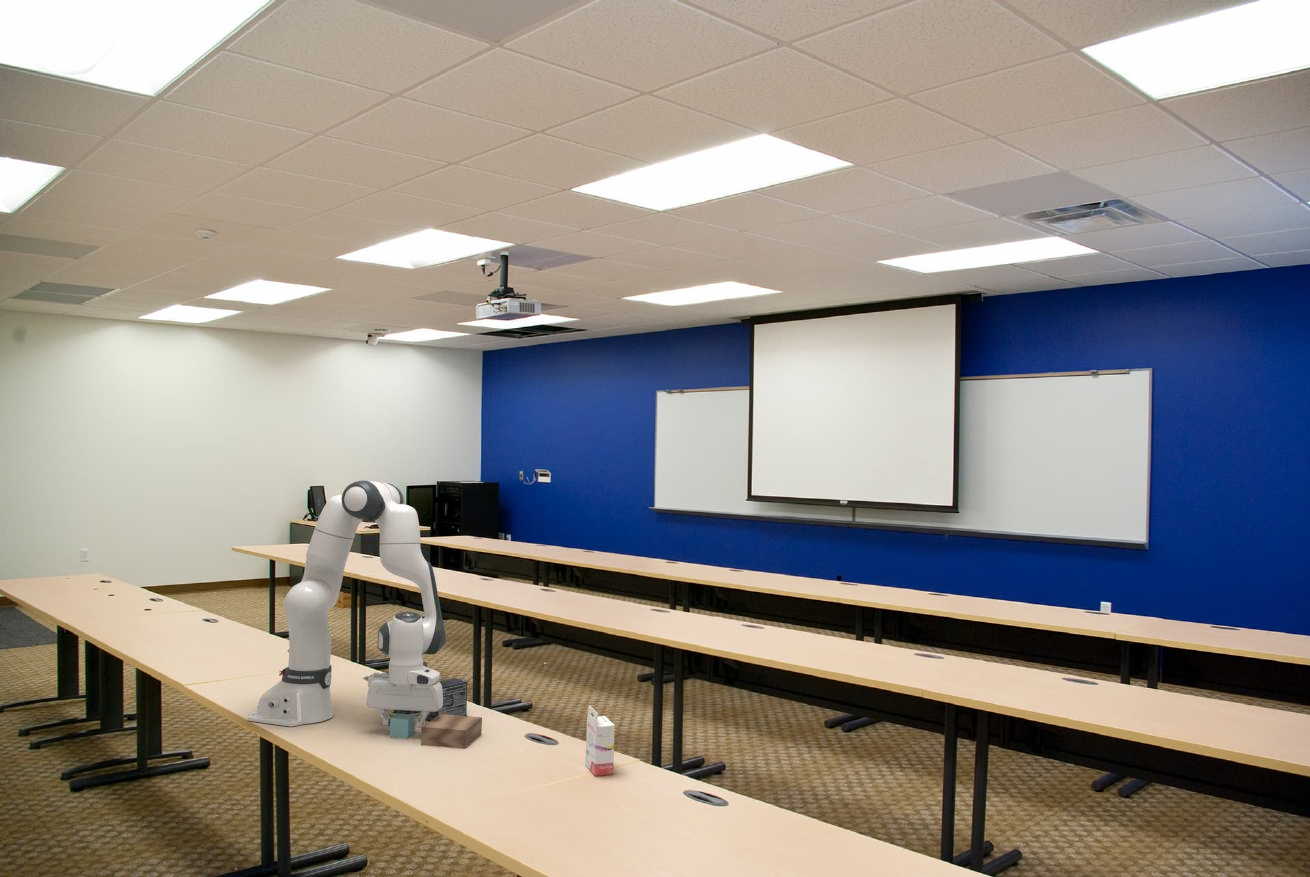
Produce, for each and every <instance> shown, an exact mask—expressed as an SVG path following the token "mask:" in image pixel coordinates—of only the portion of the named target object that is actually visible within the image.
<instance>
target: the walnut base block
mask: <svg viewBox="0 0 1310 877" xmlns="http://www.w3.org/2000/svg"><path fill="white" fill-rule="evenodd" d="M482 725H483V717H481V716H471V715H467V716H458V715H446V714H439V715H438V716H436V717H435V718H434V719H432V720H431V721H429V722H428V721H427V722H426V723H425V725H423V726H422V728H421V730H420V732H421V733H420V746H428V747H439V748H440V747H442V748H451V749H463V750H464V749H466V748H468V747H469V746H470V745H471V744H472V743H474V742H475V741H476V740H477V739H478V738H479V737H481V736H482V727H483V726H482Z"/></svg>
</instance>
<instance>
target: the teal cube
mask: <svg viewBox="0 0 1310 877" xmlns="http://www.w3.org/2000/svg"><path fill="white" fill-rule="evenodd" d="M390 718H391V719H390V725H389V738H393V739H403V740H405V739H406V740H407V739H409V738H410V737H412V736H413V735H414V734H415V733H416V716H415V715H413V714H396V715H395V716H392V717H390Z"/></svg>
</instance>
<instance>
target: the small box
mask: <svg viewBox="0 0 1310 877" xmlns="http://www.w3.org/2000/svg"><path fill="white" fill-rule="evenodd" d="M438 681H439V682H440V683H441V685H442V691H443V706H442V707H441V709H440V710H438V711H437V712H429V714H428V716H427V718H426V719H425V722H427V723H428V722H429V721H431V720H432V719H434V718H435V717H436V716H438V715H439V714H446V715H458V716H468V713H467V711H468V710H467V708H468V707H467V705H468V704H467V703H468V702H467V701H468V680H465V679H461V678H458V677H453V678H449V679H443V680H438Z"/></svg>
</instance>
